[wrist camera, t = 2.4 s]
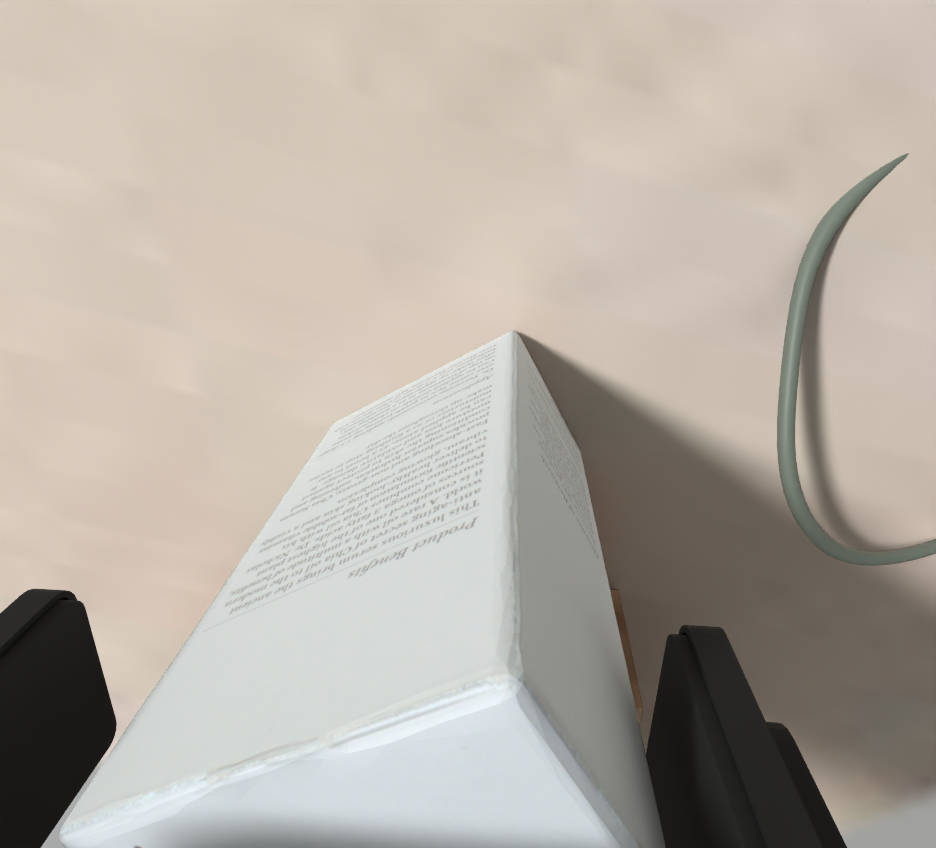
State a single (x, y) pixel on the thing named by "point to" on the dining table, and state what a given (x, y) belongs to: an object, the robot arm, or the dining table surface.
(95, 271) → the dining table surface
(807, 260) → the loop
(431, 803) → the skincare box
